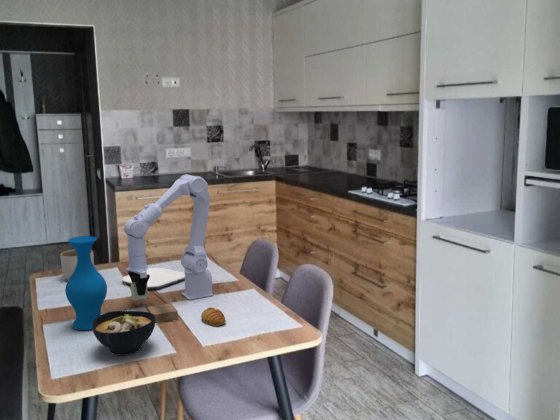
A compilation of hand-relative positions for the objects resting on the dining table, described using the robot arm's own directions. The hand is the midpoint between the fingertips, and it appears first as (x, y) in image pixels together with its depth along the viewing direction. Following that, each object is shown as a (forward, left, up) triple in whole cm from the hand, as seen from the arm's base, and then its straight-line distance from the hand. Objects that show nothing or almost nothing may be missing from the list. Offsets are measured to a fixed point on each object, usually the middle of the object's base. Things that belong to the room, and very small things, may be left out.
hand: (139, 293), depth 186 cm
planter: (+13, -47, -6) cm, 49 cm away
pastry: (-18, +24, -6) cm, 30 cm away
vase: (+18, +7, -6) cm, 20 cm away
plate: (-13, -28, -6) cm, 31 cm away
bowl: (+12, +31, -6) cm, 34 cm away
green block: (0, 0, -2) cm, 2 cm away
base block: (-4, +13, -6) cm, 15 cm away
